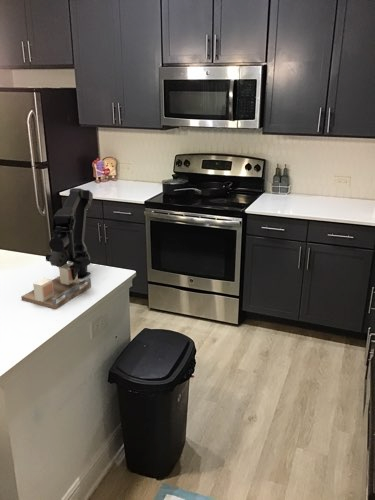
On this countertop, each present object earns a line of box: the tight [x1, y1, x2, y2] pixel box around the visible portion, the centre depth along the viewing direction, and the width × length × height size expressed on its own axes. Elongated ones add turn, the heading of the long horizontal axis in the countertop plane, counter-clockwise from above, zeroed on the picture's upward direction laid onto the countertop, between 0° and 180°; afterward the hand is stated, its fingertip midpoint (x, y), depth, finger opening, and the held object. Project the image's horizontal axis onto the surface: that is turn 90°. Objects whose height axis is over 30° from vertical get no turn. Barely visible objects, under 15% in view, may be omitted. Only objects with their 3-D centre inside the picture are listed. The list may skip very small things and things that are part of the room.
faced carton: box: [32, 277, 54, 302], centre depth 168 cm, size 4×6×7 cm
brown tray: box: [21, 275, 92, 310], centre depth 176 cm, size 22×17×4 cm
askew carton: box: [58, 262, 79, 285], centre depth 179 cm, size 4×6×7 cm
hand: (69, 278), depth 180 cm, fingers closed on askew carton, 4 cm apart
